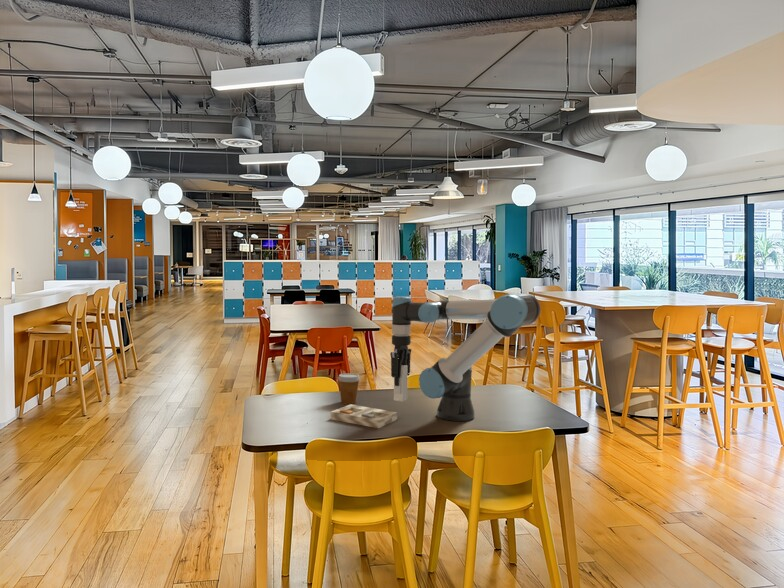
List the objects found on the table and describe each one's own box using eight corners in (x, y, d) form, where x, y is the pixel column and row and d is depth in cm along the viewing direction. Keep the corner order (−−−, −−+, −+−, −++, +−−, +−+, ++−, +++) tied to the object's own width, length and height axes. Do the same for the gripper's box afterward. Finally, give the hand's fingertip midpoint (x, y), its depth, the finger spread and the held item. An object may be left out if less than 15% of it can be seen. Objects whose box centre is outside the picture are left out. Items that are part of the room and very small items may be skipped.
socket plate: (397, 419, 243) (397, 410, 243) (378, 428, 231) (379, 418, 231) (350, 411, 254) (350, 402, 254) (330, 419, 242) (330, 409, 242)
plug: (407, 399, 251) (407, 365, 250) (402, 401, 247) (402, 366, 246) (398, 398, 253) (398, 364, 252) (393, 400, 249) (394, 365, 248)
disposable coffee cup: (362, 401, 272) (362, 374, 271) (355, 406, 263) (355, 378, 262) (342, 399, 275) (342, 372, 274) (334, 404, 266) (334, 376, 265)
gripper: (403, 332, 258) (402, 387, 259) (382, 336, 243) (381, 395, 244) (419, 333, 254) (418, 389, 255) (399, 337, 239) (398, 397, 241)
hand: (400, 392), depth 250 cm, fingers closed on plug, 4 cm apart
